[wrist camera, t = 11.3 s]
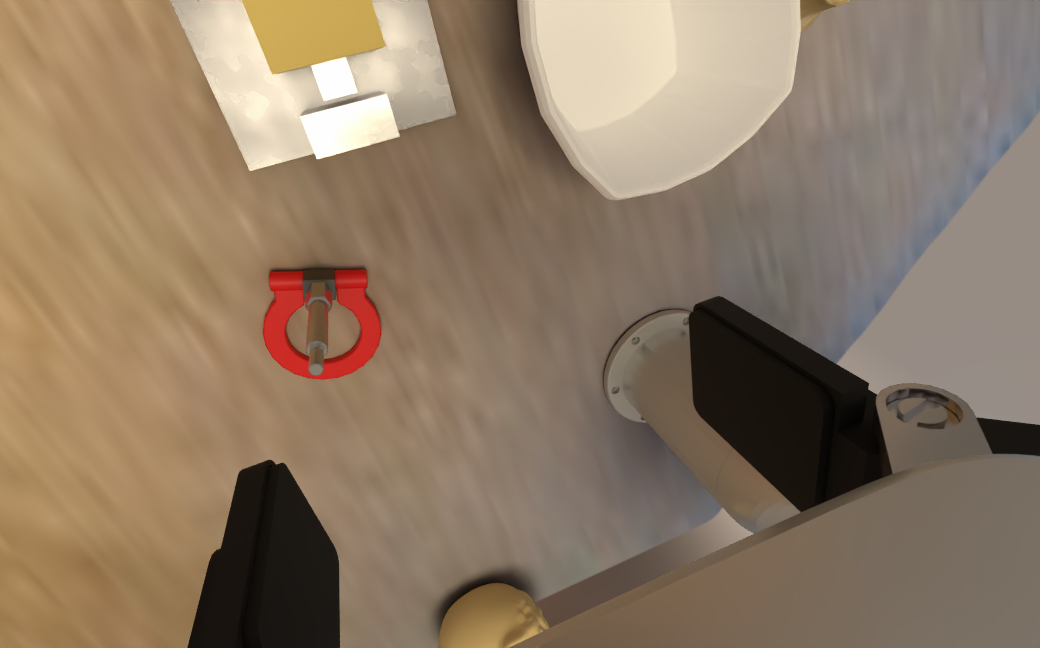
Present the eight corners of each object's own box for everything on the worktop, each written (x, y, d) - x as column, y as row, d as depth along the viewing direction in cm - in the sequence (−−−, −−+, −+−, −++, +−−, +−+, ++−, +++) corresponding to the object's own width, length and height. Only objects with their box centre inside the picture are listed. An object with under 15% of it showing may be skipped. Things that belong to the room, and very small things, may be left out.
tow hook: (381, 367, 44) (378, 264, 40) (397, 476, 33) (396, 351, 29) (271, 376, 41) (256, 267, 37) (251, 497, 31) (225, 363, 26)
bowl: (730, 97, 43) (822, 104, 35) (549, 209, 42) (601, 243, 34) (670, -168, 34) (777, -240, 26) (435, -31, 33) (470, -61, 25)
